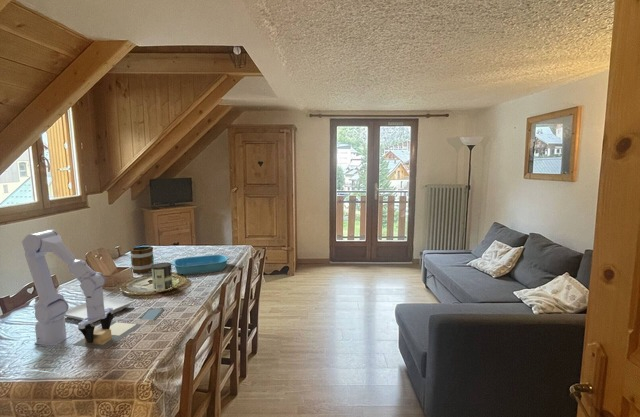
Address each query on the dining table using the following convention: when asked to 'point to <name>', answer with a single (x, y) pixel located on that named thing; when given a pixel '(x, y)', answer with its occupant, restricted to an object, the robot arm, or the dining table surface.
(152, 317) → the smartphone
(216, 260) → the casserole dish
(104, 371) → the dining table surface
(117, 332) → the mat
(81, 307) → the salad plate
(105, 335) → the pine block
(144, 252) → the mug
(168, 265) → the coffee can
